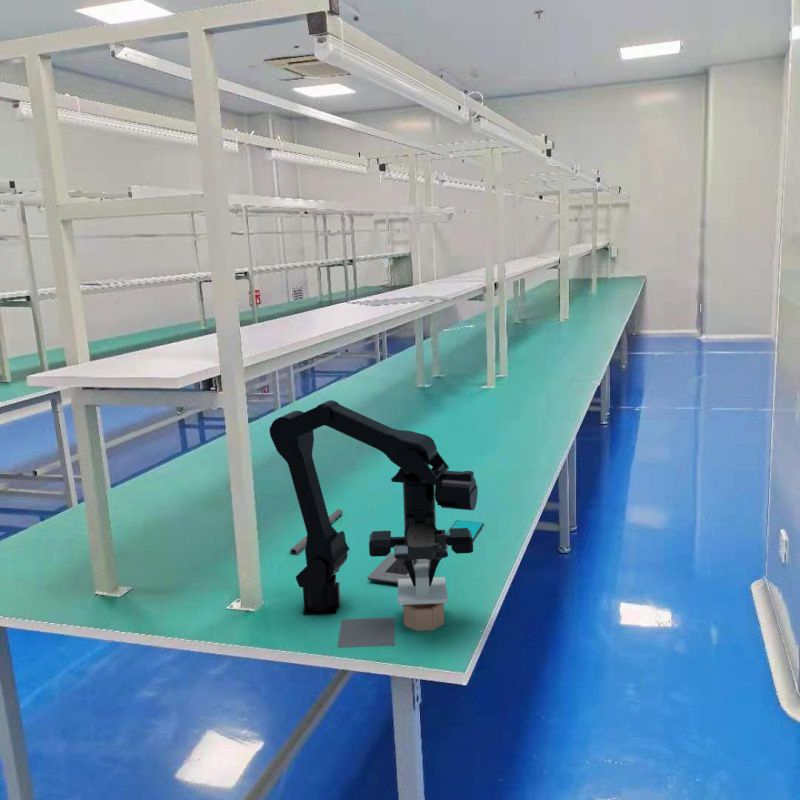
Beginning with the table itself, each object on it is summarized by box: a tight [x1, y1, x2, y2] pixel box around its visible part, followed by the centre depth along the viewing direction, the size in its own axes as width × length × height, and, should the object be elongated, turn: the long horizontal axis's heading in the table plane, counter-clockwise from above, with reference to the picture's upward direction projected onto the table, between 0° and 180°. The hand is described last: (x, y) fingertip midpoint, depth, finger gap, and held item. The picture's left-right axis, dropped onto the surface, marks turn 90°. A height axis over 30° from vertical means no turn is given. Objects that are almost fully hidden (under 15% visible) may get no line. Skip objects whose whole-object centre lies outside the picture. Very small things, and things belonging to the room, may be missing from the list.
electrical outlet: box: [366, 552, 429, 585], centre depth 156 cm, size 13×10×2 cm
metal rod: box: [289, 508, 344, 556], centre depth 182 cm, size 2×27×2 cm, turn 162°
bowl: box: [402, 603, 445, 632], centre depth 135 cm, size 8×8×4 cm
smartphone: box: [446, 520, 485, 542], centre depth 178 cm, size 7×1×15 cm
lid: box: [397, 564, 449, 606], centre depth 134 cm, size 9×9×4 cm
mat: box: [336, 617, 396, 649], centre depth 132 cm, size 10×10×1 cm
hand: (422, 585), depth 134 cm, fingers closed on lid, 2 cm apart
